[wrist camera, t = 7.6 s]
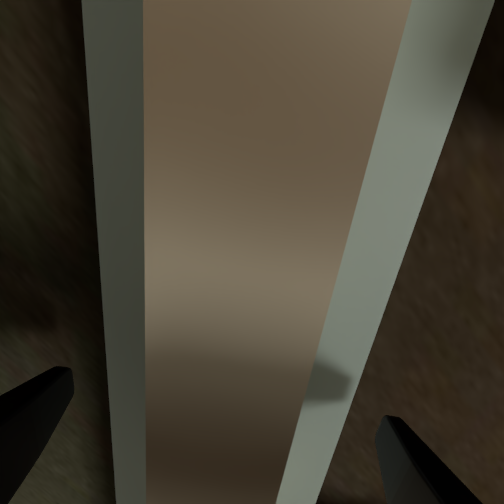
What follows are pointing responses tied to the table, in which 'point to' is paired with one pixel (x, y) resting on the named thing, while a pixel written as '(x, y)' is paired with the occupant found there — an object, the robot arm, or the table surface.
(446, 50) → the sage board
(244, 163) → the birch rail
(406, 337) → the table surface
